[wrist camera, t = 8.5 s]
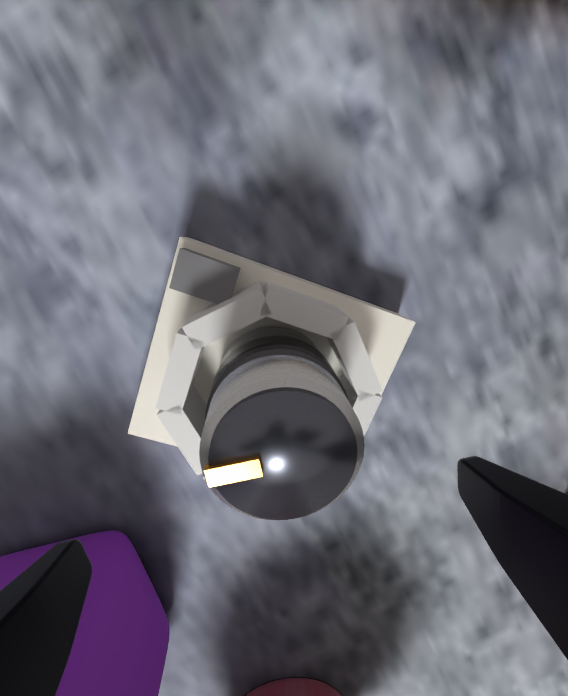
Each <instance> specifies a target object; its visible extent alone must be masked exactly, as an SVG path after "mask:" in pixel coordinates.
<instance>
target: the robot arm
mask: <svg viewBox="0 0 568 696" xmlns="http://www.w3.org/2000/svg"><path fill="white" fill-rule="evenodd" d="M457 467H458V490H459V493H460V496H461V498H462V500H463V502H464V503H465V505H466V507H467V509H468V510H469V512H470V514H471V515H472V517H473V519H474V521H475V522H476V524H477V526H478V528H479V529H480V531H481V533H482V535H483V536H484V538H485V540H486V541H487V543H488V545H489V547H490V548H491V550H492V552H493V553H494V555H495V557H496V558H497V560H498V562H499V563H500V565H501V566H502V568H503V569H504V570H505V572H506V573H507V575H508V576H509V578H510V579H511V580H512V582H513V583H514V585H515V586H516V588H517V589H518V590H519V592H520V593H521V595H522V596H523V597H524V599H525V600H526V602H527V603H528V604H529V606H530V607H531V609H532V610H533V612H534V613H535V614H536V616H537V617H538V619H539V620H540V621H541V623H542V624H543V626H544V627H545V628H546V630H547V631H548V633H549V634H550V635H551V637H552V638H553V640H554V641H555V643H556V644H557V645H558V647H559V648H560V650H561V651H562V652H563V654H564V655H565V657H566V658H567V659H568V495H567V494H565V493H563V492H560V491H558V490H555V489H553V488H551V487H548V486H546V485H544V484H541V483H539V482H537V481H534V480H532V479H529V478H527V477H525V476H522V475H520V474H518V473H515V472H513V471H511V470H508V469H506V468H504V467H501V466H499V465H496V464H494V463H492V462H489V461H487V460H485V459H482V458H480V457H477V456H472V457H467V458H463V459H460V460H459V461H458V465H457ZM91 576H92V565H91V562H90V560H89V558H88V556H87V553H86V551H85V549H84V547H83V545H82V543H81V541H80V540H78V539H71V540H66V541H62V542H59V543H57V544H56V545H54V546H53V547H52V548H51V549H50V550H48V551H47V552H46V553H45V554H44V555H42V556H41V557H40V558H39V559H38V560H36V561H35V562H34V563H33V564H32V565H30V566H29V567H28V568H27V569H26V570H24V571H23V572H22V573H21V574H20V575H18V576H17V577H16V578H15V579H14V580H12V581H11V582H10V583H9V584H8V585H6V586H5V587H4V588H3V589H2V590H0V696H55V695H56V693H57V690H58V687H59V684H60V681H61V679H62V676H63V673H64V670H65V668H66V665H67V662H68V659H69V656H70V653H71V649H72V646H73V643H74V639H75V636H76V632H77V628H78V624H79V621H80V617H81V613H82V610H83V606H84V602H85V599H86V595H87V591H88V588H89V584H90V580H91Z"/></svg>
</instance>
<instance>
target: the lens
mask: <svg viewBox="0 0 568 696" xmlns="http://www.w3.org/2000/svg"><path fill="white" fill-rule="evenodd" d="M363 455H364V435H363V430H362V427H361V424H360V421H359V419H358V417H357V415H356V413H355V412H354V410H353V408H352V406H351V405H350V403H349V400H348V396H347V394H346V391H345V389H344V387H343V385H342V383H341V382H340V380H339V378H338V377H337V375H336V373H335V372H334V370H333V368H332V367H331V365H330V363H329V362H328V360H327V359H326V358H325V356H324V355H323V354H322V353H321V352H320V351H319V349H318V348H317V346H316V345H315V344H314V343H313V342H312V341H311V340H310V339H309V338H308V337H307V336H305V335H304V334H302V333H300V332H299V331H297V330H294V329H292V328H288V327H284V326H264V327H259V328H256V329H253V330H251V331H248V332H247V333H245V334H243V335H242V336H240V337H239V338H238V339H236V340H235V341H234V342H233V343H232V344H231V346H230V347H229V348H228V349H227V351H226V353H225V355H224V357H223V359H222V361H221V365H220V367H219V369H218V371H217V373H216V375H215V378H214V381H213V385H212V388H211V392H210V395H209V399H208V402H207V407H206V413H205V425H204V429H203V432H202V436H201V441H200V448H199V457H200V464H201V469H202V472H203V475H204V477H205V480H206V481H207V483H208V486H209V488H211V489H212V491H213V492H214V493H215V494H216V495H217V496H218V497H219V498H220V499H221V500H222V501H223V502H224V503H226V504H227V505H228V506H230V507H231V508H233V509H235V510H237V511H239V512H241V513H243V514H246V515H248V516H252V517H256V518H260V519H267V520H288V519H294V518H299V517H303V516H307V515H309V514H312V513H315V512H317V511H319V510H321V509H323V508H325V507H326V506H328V505H329V504H331V503H333V502H334V501H335V500H336V499H338V498H339V497H340V496H341V495H342V494H343V493H344V492H345V491H346V490H347V489H348V487H349V486H350V485H351V483H352V482H353V481H354V479H355V477H356V475H357V474H358V471H359V469H360V466H361V463H362V459H363Z"/></svg>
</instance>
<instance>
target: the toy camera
mask: <svg viewBox="0 0 568 696" xmlns="http://www.w3.org/2000/svg"><path fill="white" fill-rule="evenodd" d="M71 539H78V540H80V541H81V543H82V545H83V547H84V549H85V551H86V553H87V556H88V558H89V560H90V562H91V565H92V576H91V580H90V584H89V588H88V591H87V595H86V599H85V602H84V606H83V610H82V613H81V617H80V621H79V624H78V628H77V632H76V636H75V639H74V643H73V646H72V649H71V653H70V656H69V659H68V662H67V665H66V668H65V670H64V673H63V676H62V679H61V681H60V684H59V687H58V690H57V693H56V695H55V696H158V693H159V688H160V684H161V679H162V674H163V669H164V664H165V659H166V654H167V649H168V642H169V623H168V619H167V616H166V613H165V611H164V609H163V606H162V604H161V602H160V600H159V597H158V595H157V593H156V591H155V589H154V587H153V585H152V583H151V581H150V579H149V577H148V574H147V572H146V570H145V568H144V566H143V564H142V562H141V560H140V558H139V556H138V554H137V552H136V550H135V548H134V546H133V545H132V543H131V541H130V540H129V539H128V537H127V536H126V535H125V534H124V533H122V532H119V531H103V532H97V533H92V534H88V535H84V536H79V537H75V538H71ZM71 539H67V540H71ZM63 541H66V540H63ZM59 542H62V541H59ZM59 542H55V543H51V544H47V545H43V546H39V547H34V548H30V549H26V550H22V551H18V552H14V553H11V554H7V555H3V556H0V590H2V589H3V588H4V587H5V586H6V585H8V584H9V583H10V582H11V581H12V580H14V579H15V578H16V577H17V576H18V575H20V574H21V573H22V572H23V571H24V570H26V569H27V568H28V567H29V566H30V565H32V564H33V563H34V562H35V561H36V560H38V559H39V558H40V557H41V556H42V555H44V554H45V553H46V552H47V551H48V550H50V549H51V548H52V547H53V546H54V545H56V544H57V543H59Z"/></svg>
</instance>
